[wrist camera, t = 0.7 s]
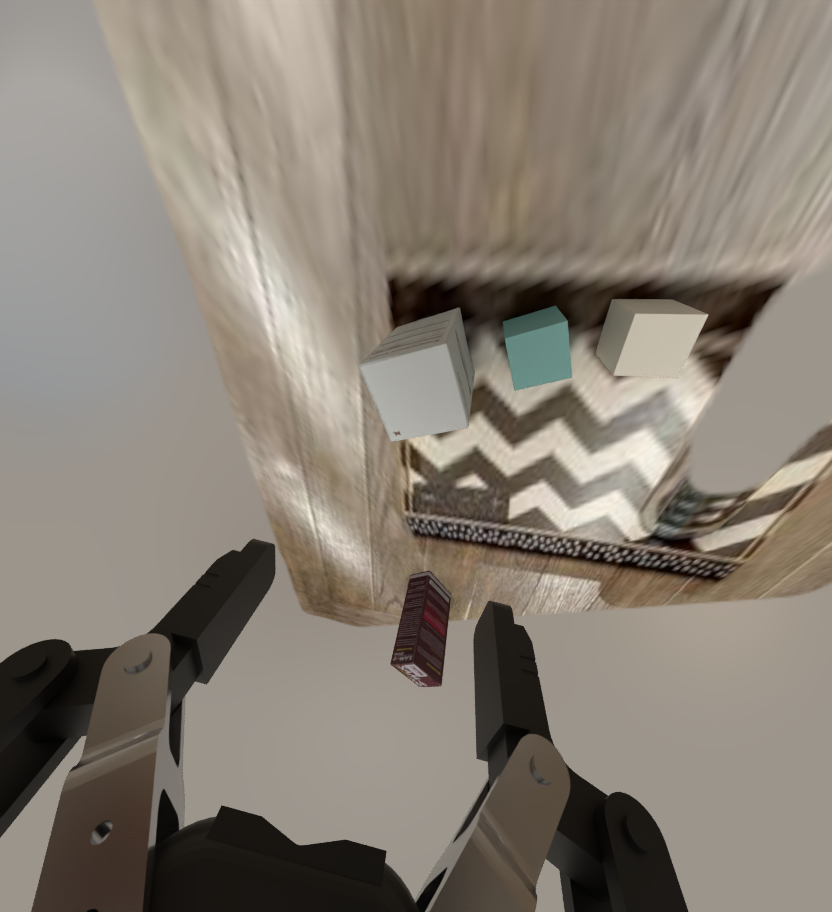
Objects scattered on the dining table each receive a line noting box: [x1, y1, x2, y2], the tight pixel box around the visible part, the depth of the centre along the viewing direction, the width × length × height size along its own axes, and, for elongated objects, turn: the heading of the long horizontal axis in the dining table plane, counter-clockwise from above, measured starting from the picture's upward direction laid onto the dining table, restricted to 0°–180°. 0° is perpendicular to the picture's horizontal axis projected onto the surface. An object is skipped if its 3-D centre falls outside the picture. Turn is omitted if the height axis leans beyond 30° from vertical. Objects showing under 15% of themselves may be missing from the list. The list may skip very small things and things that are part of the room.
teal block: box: [503, 306, 572, 391], centre depth 30 cm, size 5×5×6 cm
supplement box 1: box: [359, 308, 475, 442], centre depth 30 cm, size 7×7×13 cm
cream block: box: [595, 299, 708, 378], centre depth 28 cm, size 5×5×6 cm
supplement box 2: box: [391, 572, 451, 687], centre depth 56 cm, size 9×5×16 cm, turn 34°
